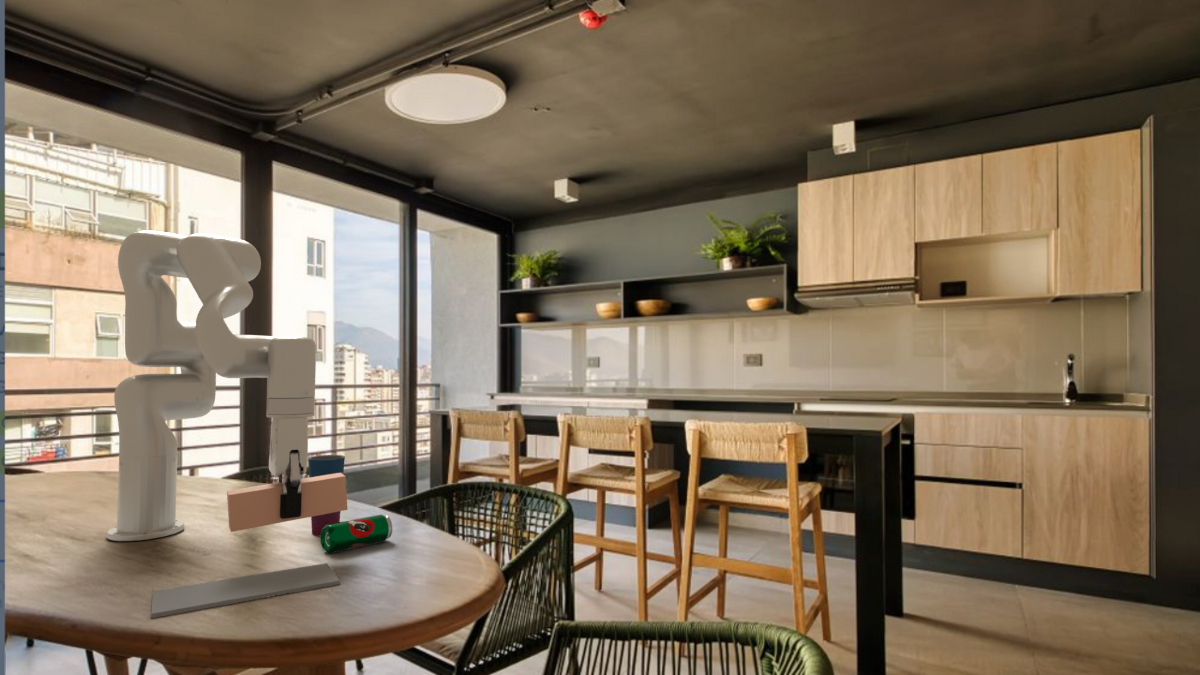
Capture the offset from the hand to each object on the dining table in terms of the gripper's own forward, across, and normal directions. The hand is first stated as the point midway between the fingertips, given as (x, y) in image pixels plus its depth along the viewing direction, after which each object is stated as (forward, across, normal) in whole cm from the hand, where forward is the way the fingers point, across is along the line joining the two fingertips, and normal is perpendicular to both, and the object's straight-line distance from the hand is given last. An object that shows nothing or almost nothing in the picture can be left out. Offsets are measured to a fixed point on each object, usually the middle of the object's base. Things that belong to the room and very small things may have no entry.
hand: (288, 513), depth 110 cm
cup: (+9, -17, +9) cm, 21 cm away
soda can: (+6, -2, +6) cm, 9 cm away
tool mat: (+8, +11, -7) cm, 15 cm away
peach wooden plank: (+1, 0, 0) cm, 1 cm away
